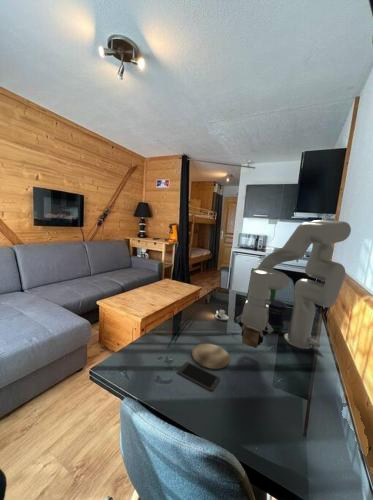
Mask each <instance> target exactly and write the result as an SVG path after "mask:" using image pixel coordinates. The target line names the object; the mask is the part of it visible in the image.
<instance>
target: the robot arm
mask: <svg viewBox="0 0 373 500" xmlns="http://www.w3.org/2000/svg"><path fill="white" fill-rule="evenodd" d="M351 232H352V227H351V225H350V224H349V223H348V222H346V221H342V220H341V221H340V220H328V219H327V220H326V219H317V220H312V221H310V222H302V223H300V224H299V225H298V226H297V227H296V229H295V230H294V231H293V233H292V234H291V235H290V236H289V239H287V241H286V242H285V244H284V245H283V246H281V248H278V249H277V250H274V251H273V252H272V253H269V254H268V255H266V256H265V257H264V258H263V259H262V261H261V262H260V263H259V264H258V266H257V268H255V269H256V270H254V271H252V273H251V272H250V275H251V277H250V276H249V281H250V285H249V284H248V287H249V293H248V292H247V293H248V300H246V301H245V303H244V306H243V310H242V312H241V314H240V315H239V316H237V317H236V318H235V320H236V322H237V323H238V325H239V326H240V329H241V335H240V336H242V337H241V339H242V340H243V332H244V329H245V328H246V326H247V325H248V326H250V327H253V328H256V329H259V332H260V336H259V339H258V346H260V345H261V344H263V342H264V337H265V336H267V335H268V334H272V333H271V332H273V328H272V327H271V325H270V324H269V323H268V317H269V307H268V305H267V304H270V303H271V301H269V300H268V298H267V297H268V290H269V289H274V290H276V291H281V290H284V289H285V288H287V287H288V285H289V284H290V280H289V276H288V275H287V274H286V273H284V272H282V271H280V270H277V269H274V268H275V267H276V266H278V265H280V264H283V263H286V262H293V261H298V260H301V259H302V258H303V256H304V255H305V253H306V252H307V251H308V249H309V247H312V248H311V251H310V254H309V257H308V259H307V262H306V265H305V268H304V271H305V274H306V275H307V276H308V277H310V278H313V279H316V280H320V281H324V282H325V283H320V282H319V281H315V280H311V279H308V278H300V279H298V280H297V281H296V282H295V285H294V292H293V293H294V297H293V298H294V301H293V307H292V310H291V311H292V312H291V317H290V322H289V327H288V332H287V333H285V334H284V335H283V339H284V341H285V342H286V343H288V344H289V345H291V346H293V347H295V348H297V349H301V350H302V349H303V350H309V349H310V350H311V349H312V347H313V346H315V347H318V348H320V347H321V342H318V341H319V340H317V339H314V338H312V331H313V330H312V329H313V325H314V322H315V321H314V320H315V316H316V305H318V306H321V307H324V308H331V307H333V306H334V305H335V303H336V302H337V300H338V296H339V294H340V291H341V289H342V286H343V283H344V281H345V277H346V268H345V266H344V265H343V264H342V263H340V262H336V261H332V260H331V259H332V257H333V252H334V248H333V245H332V244H336V243H337V244H338V243H340V242H344V241H345V240H347V239H348V238H349V237H350V235H351ZM311 245H312V246H311ZM265 327H267V328H268V330H265Z"/></svg>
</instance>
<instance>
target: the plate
mask: <svg viewBox="0 0 373 500" xmlns="http://www.w3.org/2000/svg"><path fill="white" fill-rule="evenodd" d="M191 353H192V354H191V355H192V358H193V360H194V361H195V362H196V363H197V364H199V365H200V366H202V367H204V368H207V369H211V370H221V369H224V368H225V367H227V366H228V365H229V364H230V359H231V358H230V354H229V353H228V352H227V350H225V349H224V348H222V347H221V346H218V345H216V344H213V343H199V344H197V345H195V346H194V347H193V348H192V351H191Z"/></svg>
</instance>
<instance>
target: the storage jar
mask: <svg viewBox="0 0 373 500" xmlns="http://www.w3.org/2000/svg"><path fill="white" fill-rule="evenodd" d="M269 301H271V303H270V304H267V305H268V307H269V317H268V323H269V324H270V325H271V327H272V328H273V332H271V333H270V334H273V335H280V334H282V332H283V331H282V330H283V327H284V319H285V316H286V312H287V311H286V310H287V306H288V305H287V304H286V303H284V302H283V301H280V300H276V299H274V300H269ZM266 330H268V328H267V327H265V330H264V331H266Z"/></svg>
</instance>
